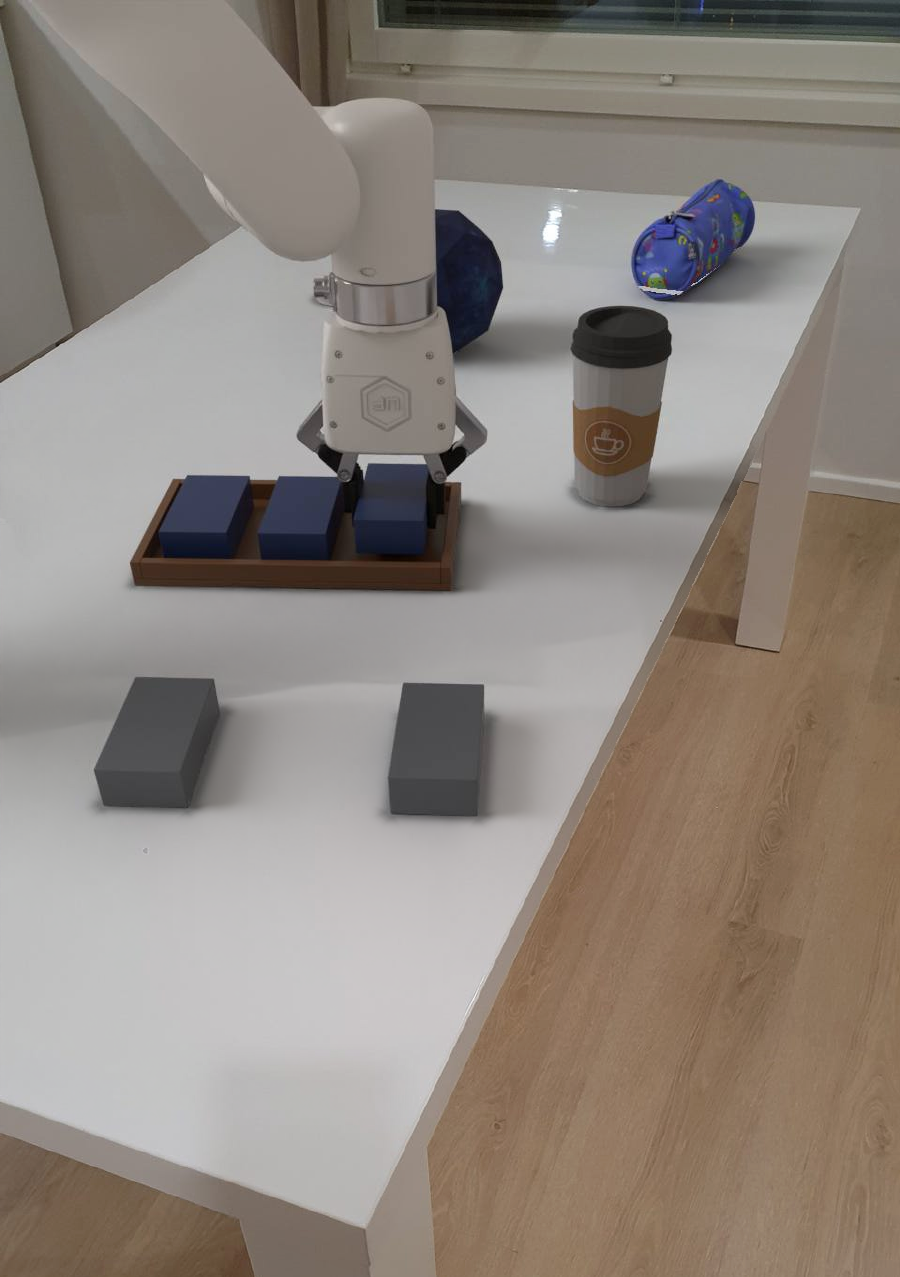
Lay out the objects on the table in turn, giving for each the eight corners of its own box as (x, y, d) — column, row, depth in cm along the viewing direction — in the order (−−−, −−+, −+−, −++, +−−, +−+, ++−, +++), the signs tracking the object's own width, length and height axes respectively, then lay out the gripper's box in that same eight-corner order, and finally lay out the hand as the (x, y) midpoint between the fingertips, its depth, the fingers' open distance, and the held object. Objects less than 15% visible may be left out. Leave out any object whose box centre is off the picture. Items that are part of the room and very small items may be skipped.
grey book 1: (103, 805, 77) (93, 769, 75) (143, 711, 84) (134, 676, 82) (188, 808, 76) (180, 772, 74) (220, 713, 84) (214, 678, 82)
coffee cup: (553, 506, 106) (560, 334, 96) (576, 465, 112) (585, 299, 102) (647, 519, 104) (664, 344, 94) (665, 476, 110) (683, 308, 100)
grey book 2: (390, 814, 76) (387, 777, 74) (404, 717, 83) (402, 682, 81) (477, 816, 75) (477, 779, 73) (484, 719, 83) (484, 683, 81)
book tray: (134, 585, 97) (129, 562, 96) (176, 500, 108) (172, 478, 107) (451, 590, 96) (450, 567, 94) (461, 503, 106) (461, 481, 105)
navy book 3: (355, 553, 96) (353, 519, 94) (369, 495, 104) (368, 462, 102) (424, 555, 96) (423, 520, 94) (433, 496, 104) (432, 464, 102)
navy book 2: (261, 566, 98) (257, 533, 96) (282, 507, 105) (278, 475, 103) (328, 567, 97) (325, 534, 96) (344, 508, 105) (342, 476, 103)
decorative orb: (505, 267, 138) (425, 159, 129) (547, 311, 127) (463, 197, 118) (412, 354, 142) (328, 255, 132) (445, 403, 131) (355, 300, 121)
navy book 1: (165, 564, 98) (158, 531, 96) (192, 506, 106) (186, 474, 104) (231, 565, 98) (226, 532, 96) (254, 507, 105) (249, 475, 103)
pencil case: (689, 310, 142) (699, 223, 135) (622, 298, 145) (628, 213, 139) (752, 256, 156) (764, 175, 150) (690, 247, 159) (698, 167, 153)
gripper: (259, 312, 86) (285, 540, 97) (501, 314, 85) (497, 545, 96) (278, 277, 91) (300, 497, 103) (504, 279, 90) (500, 501, 102)
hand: (395, 518), depth 100 cm, fingers closed on navy book 3, 5 cm apart
